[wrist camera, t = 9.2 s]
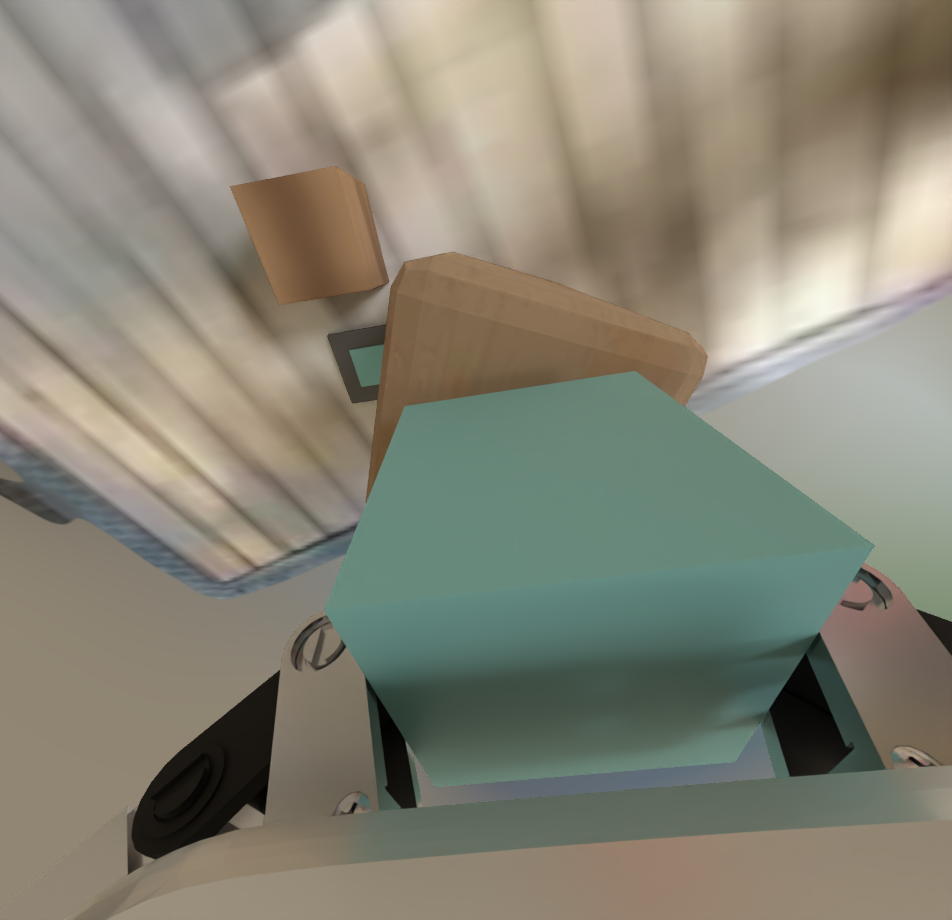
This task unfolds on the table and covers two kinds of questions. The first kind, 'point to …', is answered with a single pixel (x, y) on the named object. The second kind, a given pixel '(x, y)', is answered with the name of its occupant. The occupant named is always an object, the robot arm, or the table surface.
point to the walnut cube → (313, 234)
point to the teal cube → (581, 583)
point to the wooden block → (510, 340)
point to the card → (360, 360)
